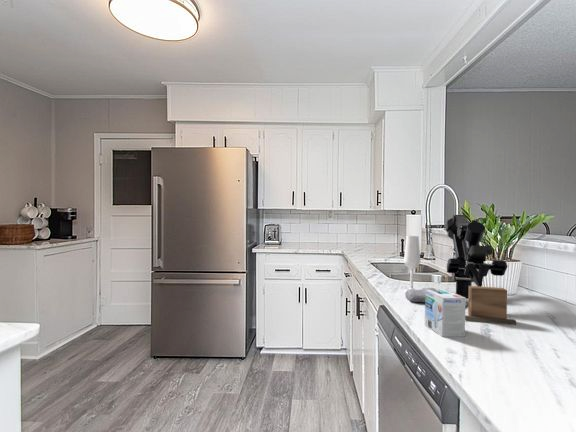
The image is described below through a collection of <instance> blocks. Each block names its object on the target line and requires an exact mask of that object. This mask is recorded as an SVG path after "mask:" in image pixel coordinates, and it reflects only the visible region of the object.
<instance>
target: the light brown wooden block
mask: <svg viewBox="0 0 576 432" xmlns="http://www.w3.org/2000/svg"><path fill="white" fill-rule="evenodd" d="M467 299H468V300H467V302H468V305H467V316H478V317H491V318H503V319H508V318H507V317H508V290H507V289H505V288H503V287H495V286H493V287H492V286H481V287H480V286H477V285H472V286H469V296H468V298H467Z"/></svg>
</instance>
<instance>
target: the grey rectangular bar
mask: <svg viewBox="0 0 576 432" xmlns="http://www.w3.org/2000/svg"><path fill="white" fill-rule="evenodd" d="M466 321H467V322H468V321H469V322H477V323H478V322H481V323H490V324H501V325H502V324H503V325H512V326H513V325H515V326H516V325H517V320H516V319H512V318H507V319H503V318H491V317H478V316H468V315H466V314H465V322H466Z"/></svg>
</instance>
